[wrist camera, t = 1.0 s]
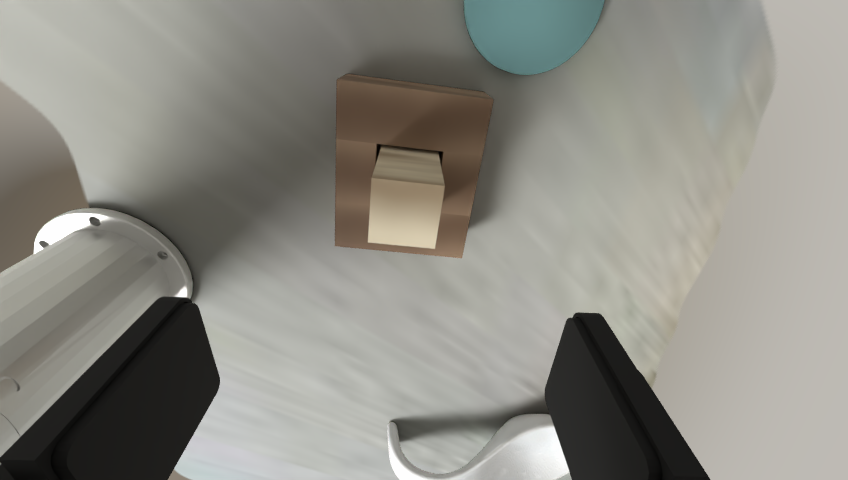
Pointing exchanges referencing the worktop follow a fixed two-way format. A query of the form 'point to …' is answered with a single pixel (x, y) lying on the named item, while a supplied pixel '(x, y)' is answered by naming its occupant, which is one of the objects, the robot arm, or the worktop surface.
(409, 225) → the maple peg
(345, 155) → the walnut socket block
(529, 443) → the spoon rest
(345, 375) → the worktop surface
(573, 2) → the teal rubber pad
